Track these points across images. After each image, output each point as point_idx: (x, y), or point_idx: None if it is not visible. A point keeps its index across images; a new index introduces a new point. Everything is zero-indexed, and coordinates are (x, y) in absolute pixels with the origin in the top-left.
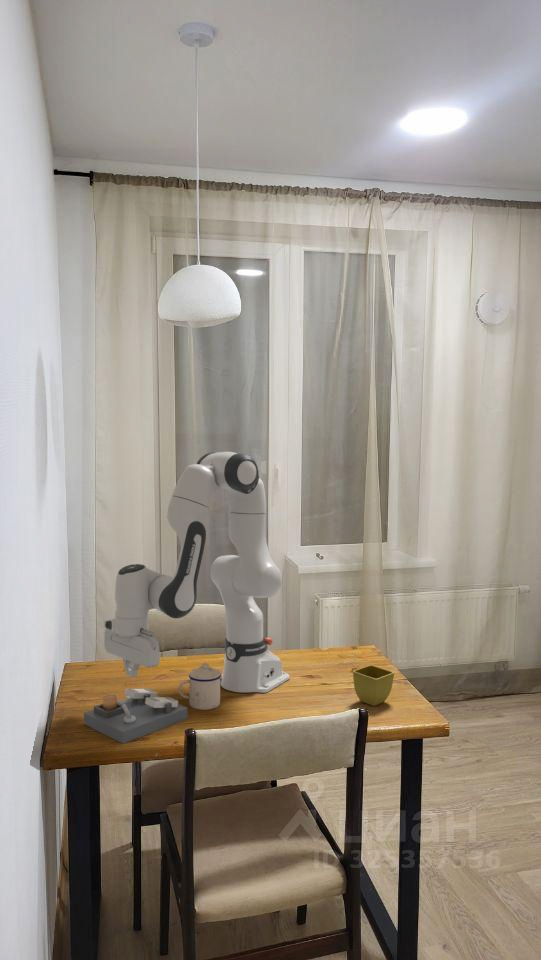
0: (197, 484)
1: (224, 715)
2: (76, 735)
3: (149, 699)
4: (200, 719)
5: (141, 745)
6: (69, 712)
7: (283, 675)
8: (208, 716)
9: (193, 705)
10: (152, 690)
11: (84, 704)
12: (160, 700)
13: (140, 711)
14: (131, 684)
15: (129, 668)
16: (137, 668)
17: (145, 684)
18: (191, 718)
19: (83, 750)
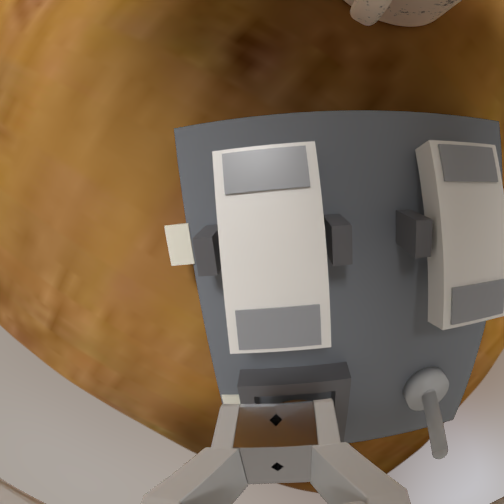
0: None
1: (500, 22)
2: None
3: (466, 324)
4: (494, 94)
5: (484, 362)
6: (127, 401)
7: None
8: (487, 56)
9: (404, 22)
10: (272, 151)
11: (84, 342)
12: (494, 265)
13: (391, 313)
14: (9, 114)
15: (241, 467)
16: (360, 462)
17: (34, 65)
18: (473, 108)
19: (382, 462)
